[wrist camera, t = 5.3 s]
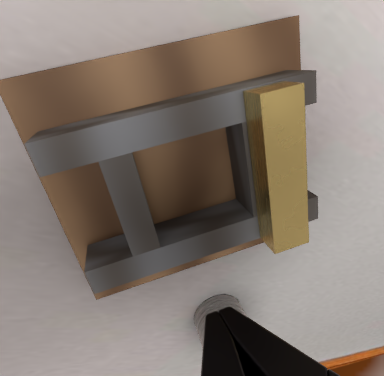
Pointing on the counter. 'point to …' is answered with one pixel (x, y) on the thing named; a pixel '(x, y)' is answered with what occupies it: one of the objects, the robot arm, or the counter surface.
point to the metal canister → (214, 305)
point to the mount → (154, 149)
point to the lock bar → (279, 162)
